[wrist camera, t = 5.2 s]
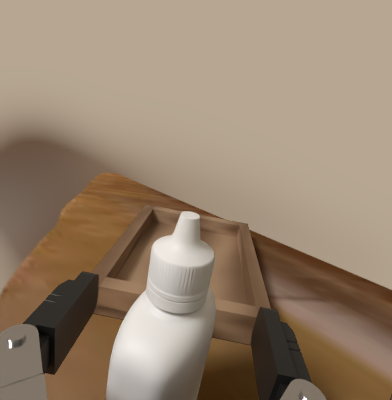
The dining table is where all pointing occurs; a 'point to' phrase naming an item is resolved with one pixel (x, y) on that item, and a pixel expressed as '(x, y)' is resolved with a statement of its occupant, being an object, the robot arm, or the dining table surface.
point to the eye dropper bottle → (167, 322)
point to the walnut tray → (220, 280)
